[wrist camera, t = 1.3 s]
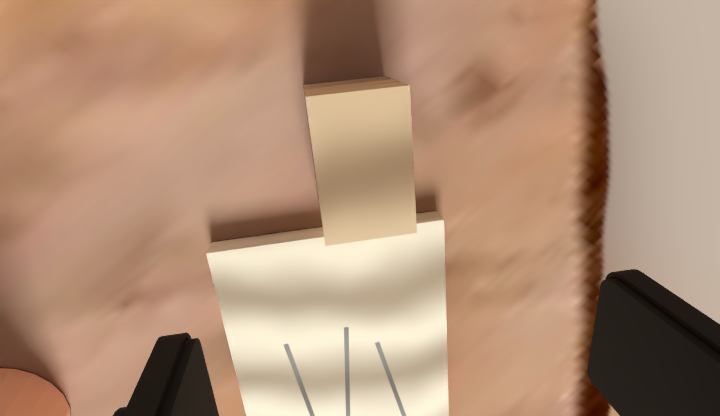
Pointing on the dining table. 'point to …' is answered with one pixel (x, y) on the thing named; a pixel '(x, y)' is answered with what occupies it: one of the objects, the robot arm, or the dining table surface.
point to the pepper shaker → (29, 395)
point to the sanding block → (362, 158)
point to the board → (336, 322)
